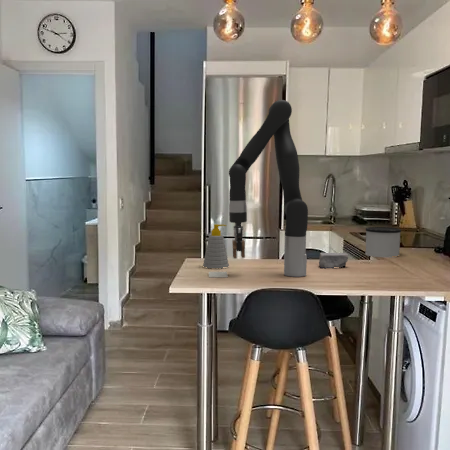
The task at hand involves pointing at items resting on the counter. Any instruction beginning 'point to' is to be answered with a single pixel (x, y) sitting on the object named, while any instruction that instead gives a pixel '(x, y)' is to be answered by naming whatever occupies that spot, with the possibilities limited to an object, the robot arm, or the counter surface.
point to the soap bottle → (216, 250)
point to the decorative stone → (333, 260)
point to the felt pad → (218, 274)
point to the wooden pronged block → (236, 248)
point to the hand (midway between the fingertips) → (238, 250)
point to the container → (382, 241)
